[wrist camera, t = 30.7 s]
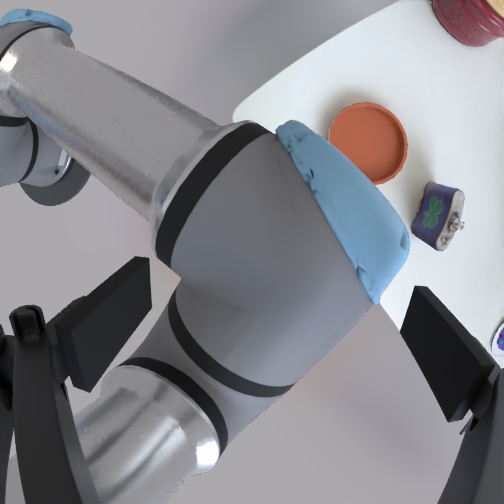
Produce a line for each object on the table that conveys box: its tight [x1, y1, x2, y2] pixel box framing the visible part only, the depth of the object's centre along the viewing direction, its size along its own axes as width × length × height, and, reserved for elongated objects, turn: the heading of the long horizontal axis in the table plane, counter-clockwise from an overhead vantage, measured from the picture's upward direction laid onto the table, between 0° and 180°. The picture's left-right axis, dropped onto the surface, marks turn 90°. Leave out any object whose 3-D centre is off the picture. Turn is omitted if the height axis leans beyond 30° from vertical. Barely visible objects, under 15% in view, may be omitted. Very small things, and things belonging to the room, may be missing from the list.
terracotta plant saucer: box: [327, 102, 408, 185], centre depth 39 cm, size 12×12×2 cm
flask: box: [411, 182, 465, 251], centre depth 37 cm, size 9×3×11 cm, turn 163°
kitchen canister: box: [432, 0, 504, 47], centre depth 21 cm, size 13×13×18 cm
